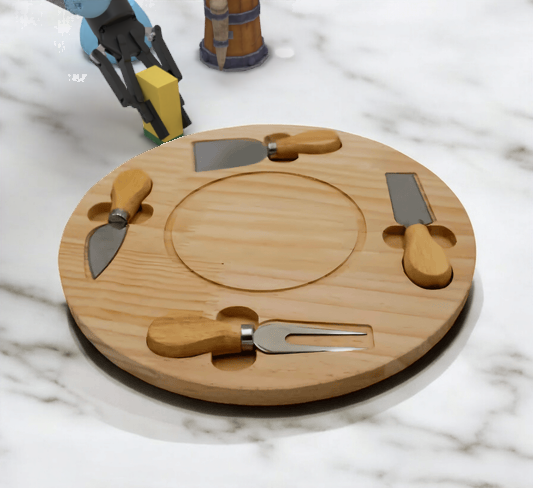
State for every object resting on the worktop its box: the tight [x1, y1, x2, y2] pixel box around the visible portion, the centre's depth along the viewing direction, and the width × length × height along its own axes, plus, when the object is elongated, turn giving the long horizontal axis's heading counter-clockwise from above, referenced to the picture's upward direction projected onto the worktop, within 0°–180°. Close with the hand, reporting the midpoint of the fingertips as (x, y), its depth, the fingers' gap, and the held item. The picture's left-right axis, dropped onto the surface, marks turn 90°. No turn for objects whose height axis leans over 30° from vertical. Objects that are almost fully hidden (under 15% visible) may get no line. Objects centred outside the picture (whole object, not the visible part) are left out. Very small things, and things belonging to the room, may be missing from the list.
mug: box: [198, 0, 269, 73], centre depth 125 cm, size 19×14×20 cm
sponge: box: [135, 65, 185, 146], centre depth 109 cm, size 6×4×12 cm
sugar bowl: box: [79, 0, 153, 65], centre depth 131 cm, size 15×15×12 cm
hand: (176, 131), depth 109 cm, fingers closed on sponge, 4 cm apart
